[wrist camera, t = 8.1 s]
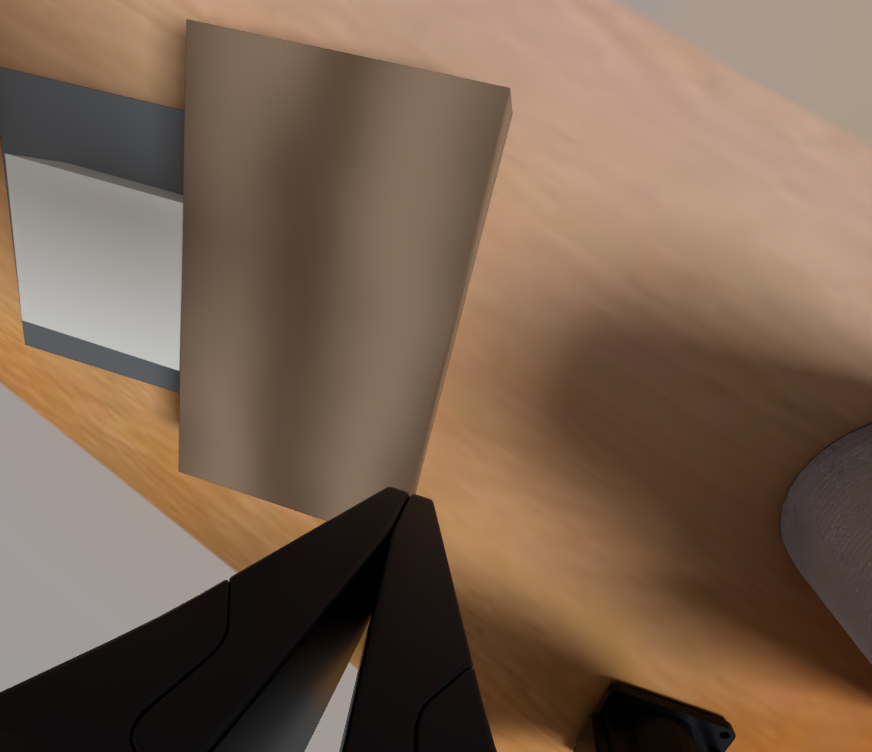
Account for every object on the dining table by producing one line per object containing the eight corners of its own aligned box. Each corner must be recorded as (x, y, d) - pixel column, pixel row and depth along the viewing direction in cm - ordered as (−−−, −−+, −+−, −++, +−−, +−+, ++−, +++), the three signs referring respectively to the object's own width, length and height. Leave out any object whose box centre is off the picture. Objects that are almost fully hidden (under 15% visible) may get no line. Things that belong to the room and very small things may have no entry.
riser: (512, 113, 16) (509, 87, 13) (412, 504, 22) (396, 544, 19) (241, 54, 17) (186, 19, 14) (219, 442, 23) (178, 471, 21)
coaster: (226, 207, 19) (184, 203, 16) (217, 355, 21) (179, 370, 19) (66, 162, 19) (4, 153, 17) (75, 310, 22) (22, 320, 20)
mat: (227, 122, 18) (220, 119, 18) (213, 399, 22) (208, 402, 22) (2, 68, 19) (-8, 65, 19) (33, 342, 24) (25, 344, 23)
